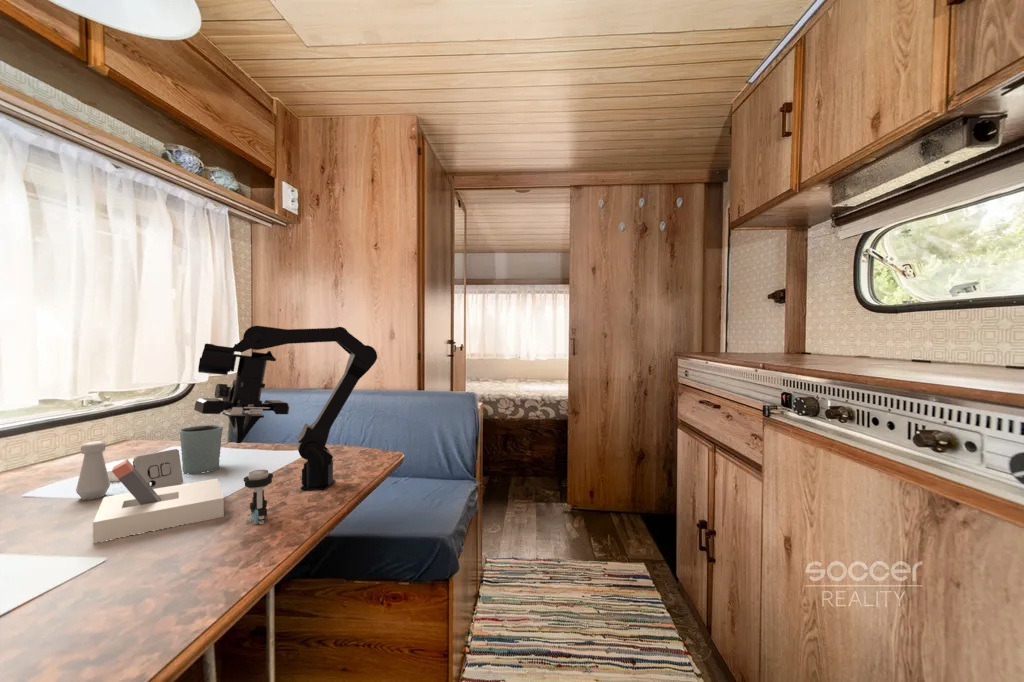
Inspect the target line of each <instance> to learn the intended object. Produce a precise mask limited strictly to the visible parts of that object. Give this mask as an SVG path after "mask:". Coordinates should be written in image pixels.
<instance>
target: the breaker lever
mask: <svg viewBox="0 0 1024 682" xmlns="http://www.w3.org/2000/svg"><path fill="white" fill-rule="evenodd" d="M128 459H129V458H127V459H124V460H125V461H123V462H121V463H119V464H117V465H116V466H114V467H113V469H112V472H113V473H114V474H115V476H116V477H117V478H118V479H119V480H120V482H121V484H122V485H123V486H124V487H125V488H126V490H127V491H129V492H128V493H131V494H132V495H133V496H134V497H135V498H136V500H137V501H138V502H139V503H140V504H141V505H144V504H149V503H155V502H161V498H160V497H159V496H158V495H157V493H156V492H155V491H154V490H153V489H152V488H151V484H150V483H149V484H150V485H149V484H148V483H147V482H146V481H145V479H144V478H143V477H142V476H141V475H140V473H139V472H138V471H137V470H136V469H135V468H134V466H133V465H132V464H131V463H130V462H129V460H128Z"/></svg>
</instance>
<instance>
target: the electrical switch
mask: <svg viewBox="0 0 1024 682" xmlns="http://www.w3.org/2000/svg"><path fill="white" fill-rule="evenodd" d="M132 459H133V466H134V468H135V469H136V470H137V471H138V472H139V473H140V475H141V476H142V477H143V478H144V479H145V481H146V482H147V483H148V484H149V485H150V486H151V488H152V489H157V488H163V487H169V486H175V485H181V484H183V483H184V478H183V469H182V464H181V462H182V461H181V457H180V450H179V449H177V448H174V449H173V448H172V449H168V450H163V451H158V452H152V453H148V454H141V455H136V456H135V457H134V458H132ZM150 483H151V484H150Z"/></svg>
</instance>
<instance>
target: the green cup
mask: <svg viewBox="0 0 1024 682" xmlns="http://www.w3.org/2000/svg"><path fill="white" fill-rule="evenodd" d="M223 429H224V427H223V425H218V424H217V425H216V424H215V425H214V424H213V425H212V424H210V425H209V424H208V425H207V424H205V425H198V426H197V425H196V426H190V427H185V428H184V427H183V428H181V429H180V430H179V438H180V439H179V442H180V448H181V449H180V451H181V453H180V454H181V462H182V464H181V469H182V473H183V472H184V473H183V474H185V473H189V474H188V475H196V474H195V473H199V474H203V473H202V472H206V473H208V472H207V471H210V472H212V470H213V471H216V470H218V469H219V467H220V461H221V460H220V457H221V449H222V448H221V446H222V436H223ZM217 468H218V469H217ZM215 469H216V470H215Z"/></svg>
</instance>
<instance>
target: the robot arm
mask: <svg viewBox="0 0 1024 682" xmlns="http://www.w3.org/2000/svg"><path fill="white" fill-rule="evenodd" d="M331 342H332V343H333V342H335V343H336V344H337V345H338V346H340V347H341V348H342V349H343V350H344V351H345V352H346V353H347V354H349V357H348V359H347V361H346V362H347V363H346V365H345V370H344V372H343V375H342V376H341V378H340V380H339V381H338V383H337V385H336V386H335V388H334V389H333V391H332V393H331V395H330V396H329V398H328V399H327V401H326V403H325V404H324V406H323V408H322V409H321V411H320V413H319V414H318V416H317V418H316V419H315V420H314V421H313V422H312V423H311V424H310V425H309V424H308V423H307V422H306V423H304V424H303V427H302V429H301V432H300V433H299V434H298V435H297V436H296V439H297V442H296V448H297V451H298V453H299V456H300V457H301V458H303V459H304V460H306V462H303V468H302V469H301V485H302V486H300V490H309V491H310V490H313V491H314V490H316V491H317V490H318V491H319V490H320V491H321V490H327V489H329V488H330V487H331V486H333V484H334V483H336V481H337V480H336V479H334V460H333V458H334V456H333V454H332V453H331V452H330V450H329V448H328V447H326V445H327V442H328V439H329V435H330V432H331V429H332V426H333V424H334V422H336V419H337V417H338V416H339V414H340V413H341V411H342V409H343V407H345V406H344V405H345V404H346V402H347V400H348V399H349V397H350V395H351V394H352V392H353V390H354V389H355V388H356V385H357V384H358V382H359V380H360V379H361V378H362V377H364V375H365V374H367V373H368V371H369V370H370V369H371V368H372V367H373V366H374V364H376V362H377V359H378V353H377V351H376V349H375V348H374V347H373V346H371V345H368V344H367V345H366V344H364V343H363V342H362V341H361V340H360V339H358V338H357V337H355V336H354V335H352V334H351V333H350V332H349V331H348V330H347V328H345V327H343V326H336V327H325V328H324V327H323V328H322V327H320V328H293V329H292V328H291V329H287V328H277V327H272V326H264V325H252V326H250V327H249V328H247V329H246V330H245V332H243V337H242V339H241V340H240V341H239V342H237V343H234V344H233V345H234V346H233V347H232V346H231V347H230V346H225V345H223V346H221V345H216V344H213V343H204V347H203V350H202V353H201V356H200V357H199V362H198V368H197V370H198V371H197V372H198V373H199V374H200V373H201V374H211V375H212V374H213V375H222V376H223V375H224V376H228V375H229V373H230V372H235V367H236V364H237V363H236V362H237V358H239V360H238V364H237V365H238V366H237V371H236V376H235V379H233V381H232V384H231V386H228V384H227V383H218V384H216V385H215V389H214V398H212V397H199V398H198V399H197V400H196V401H195V402H194V403H195V404H194V407H193V408H194V409H193V410H194V411H196V412H198V413H200V414H202V415H203V414H204V415H220V414H222V415H224V416H226V417H228V419H229V422H230V424H231V427H232V431H233V437H234V441H235V443H236V444H242V442H244V439H245V438H246V437H247V435H248V433H249V432H250V431H251V429H252V428H253V427H254V426H255V425H256V423H257V422H259V420H260V419H261V418H262V419H264V417H265V415H264V414H263V411H264V412H265V411H267V412H269V411H270V412H273V413H274V414H275V415H289V413H290V406H289V405H290V404H289V403H288V402H285V401H283V400H280V399H279V400H278V399H277V400H275V399H274V400H273V399H265V400H264V402H263V400H261V395H262V391H263V389H265V387H266V384H265V383H264V380H265V379H264V378H265V374H266V369H267V368H266V367H267V365H268V364H267V362H268V361H269V362H276V361H277V358H276V357H275V356H274V355H273V353H272V351H271V350H268V351H267V352H266V353H264V352H256V351H255V350H257V351H261V350H265V349H271V348H274V347H280V346H285V345H288V344H292V345H293V344H308V343H331ZM249 350H254V351H252V352H251V355H247V354H246V355H245V354H240V353H243V352H245V351H249ZM236 352H238V353H239V354H237V353H236ZM221 399H222V400H221Z"/></svg>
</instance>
